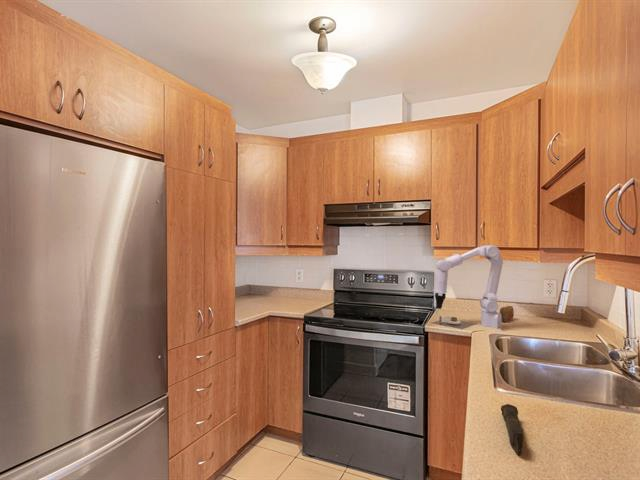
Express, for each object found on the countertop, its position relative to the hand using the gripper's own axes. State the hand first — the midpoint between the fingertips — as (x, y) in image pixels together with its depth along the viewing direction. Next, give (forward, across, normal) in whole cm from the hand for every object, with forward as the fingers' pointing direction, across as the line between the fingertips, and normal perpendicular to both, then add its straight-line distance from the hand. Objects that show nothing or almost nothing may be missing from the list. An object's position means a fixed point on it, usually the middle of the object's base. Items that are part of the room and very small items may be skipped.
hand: (439, 307), depth 200 cm
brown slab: (+7, -29, +38) cm, 48 cm away
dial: (+8, -5, +6) cm, 11 cm away
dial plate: (+10, -5, +8) cm, 14 cm away
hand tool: (+11, +109, +20) cm, 112 cm away
